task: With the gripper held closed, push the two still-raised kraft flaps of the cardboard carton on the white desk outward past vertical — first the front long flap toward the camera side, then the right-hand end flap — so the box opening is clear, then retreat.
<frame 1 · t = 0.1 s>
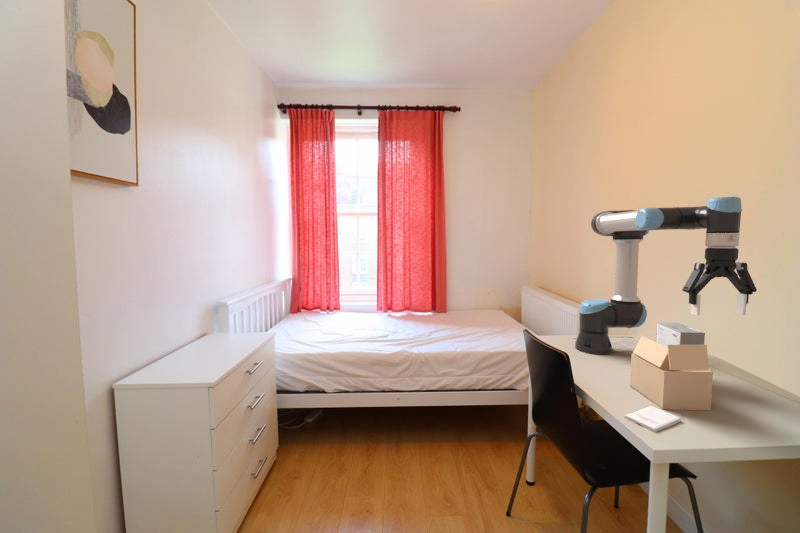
hand: (717, 314, 106), 28 cm above the table, fingers open, 13 cm apart
hard drive box: (676, 380, 123), on the table
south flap: (650, 350, 109), point 16 cm above the table, hinge at 65.0°
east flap: (688, 357, 101), point 16 cm above the table, hinge at 78.0°
external hard drive: (652, 422, 97), on the table
carton: (667, 397, 110), on the table
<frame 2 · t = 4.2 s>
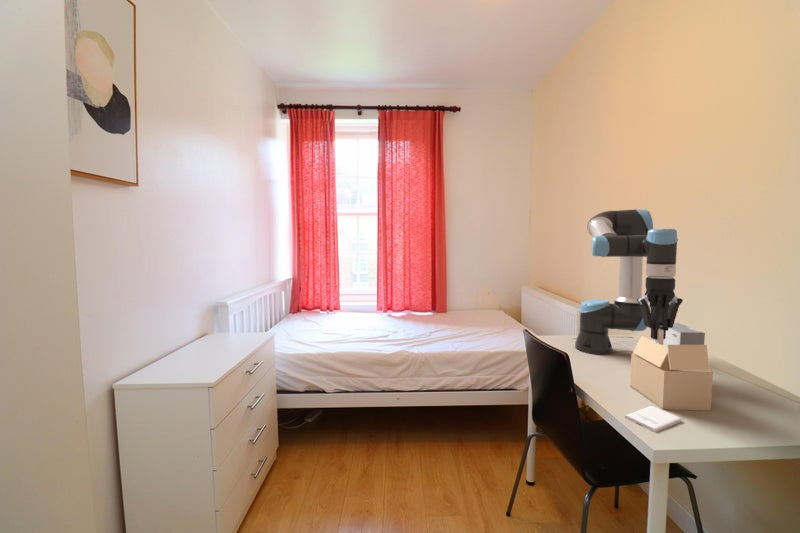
hand: (657, 348, 109), 16 cm above the table, fingers closed
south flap: (650, 350, 109), point 16 cm above the table, hinge at 65.9°, touching gripper
everything else where it was.
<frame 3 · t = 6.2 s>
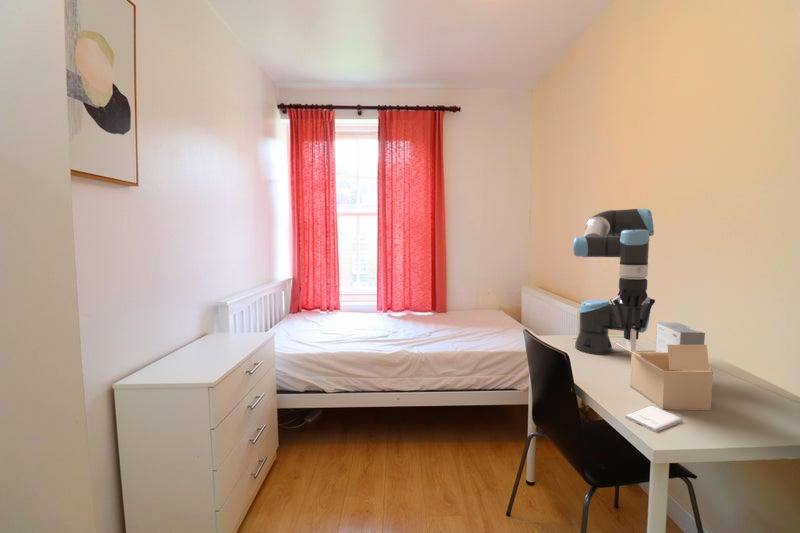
hand: (630, 348, 110), 16 cm above the table, fingers closed
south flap: (636, 354, 110), point 14 cm above the table, hinge at 147.4°, touching gripper
everything else where it was.
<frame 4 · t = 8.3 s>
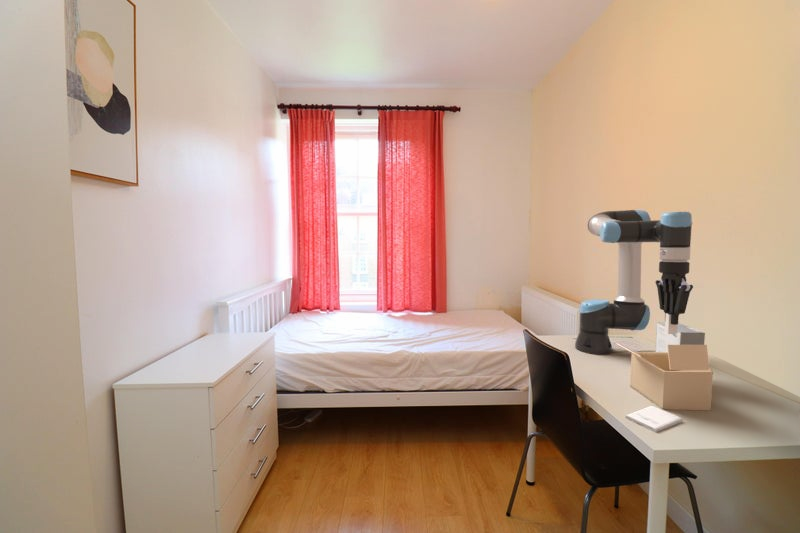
hand: (670, 333, 108), 22 cm above the table, fingers closed
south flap: (636, 354, 110), point 14 cm above the table, hinge at 147.6°
everything else where it was.
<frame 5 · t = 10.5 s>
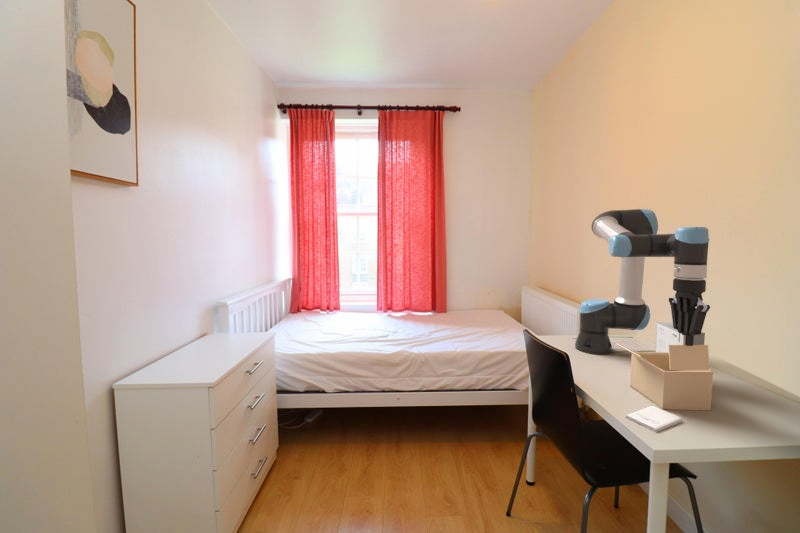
hand: (685, 354, 103), 17 cm above the table, fingers closed
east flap: (688, 357, 101), point 16 cm above the table, hinge at 81.8°, touching gripper
everything else where it was.
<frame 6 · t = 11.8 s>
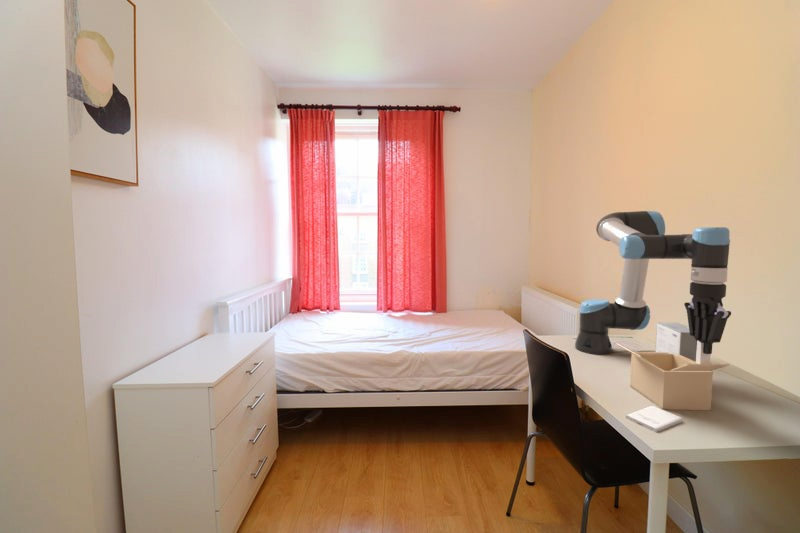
hand: (702, 363, 96), 16 cm above the table, fingers closed
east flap: (699, 367, 98), point 15 cm above the table, hinge at 145.8°, touching gripper
everything else where it was.
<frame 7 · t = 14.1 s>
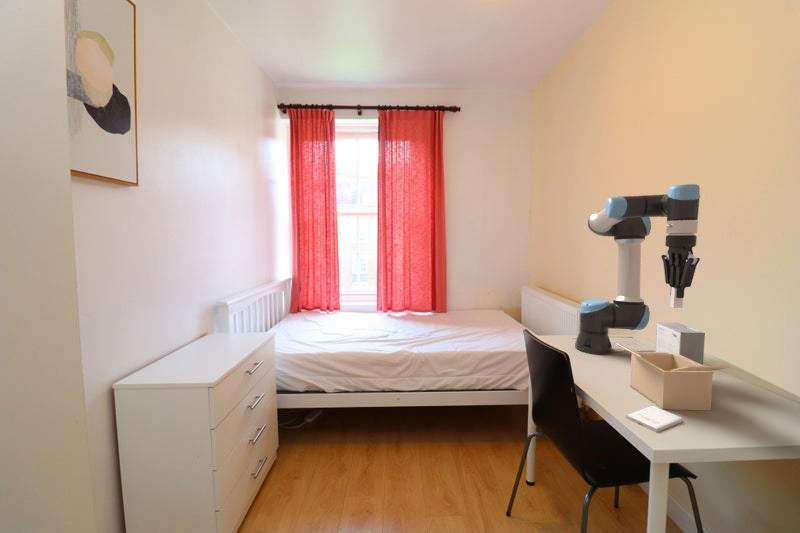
hand: (676, 307, 109), 30 cm above the table, fingers closed
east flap: (699, 368, 97), point 14 cm above the table, hinge at 150.2°
everything else where it was.
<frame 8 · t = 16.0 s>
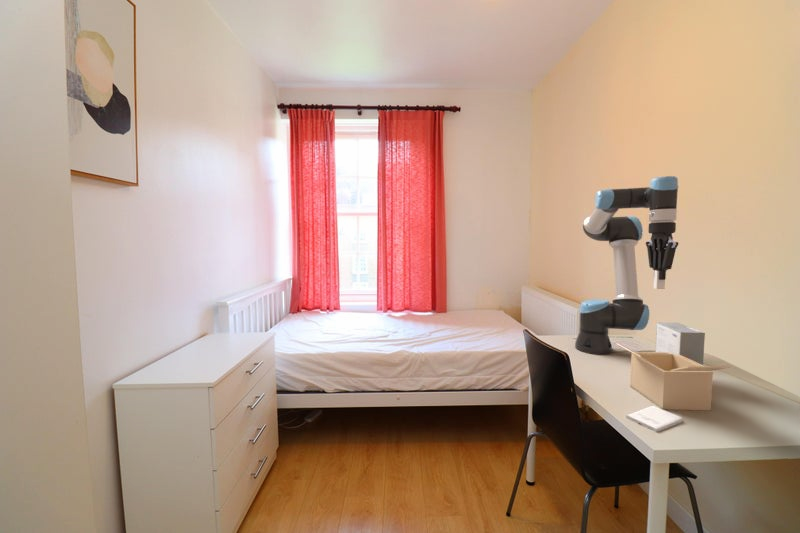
hand: (659, 288, 119), 34 cm above the table, fingers closed
nothing on the table moved.
at the end: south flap at +148° (first picture: +65°); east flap at +150° (first picture: +78°) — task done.
